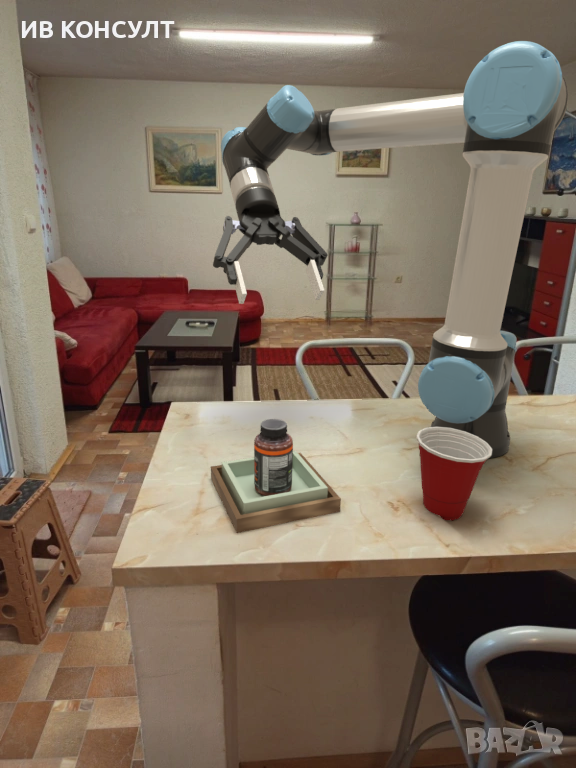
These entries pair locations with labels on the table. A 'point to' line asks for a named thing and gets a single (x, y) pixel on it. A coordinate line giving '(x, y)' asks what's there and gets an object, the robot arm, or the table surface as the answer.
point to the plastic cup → (449, 468)
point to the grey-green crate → (249, 500)
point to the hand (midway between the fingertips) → (282, 297)
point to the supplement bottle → (273, 458)
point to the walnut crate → (276, 514)
